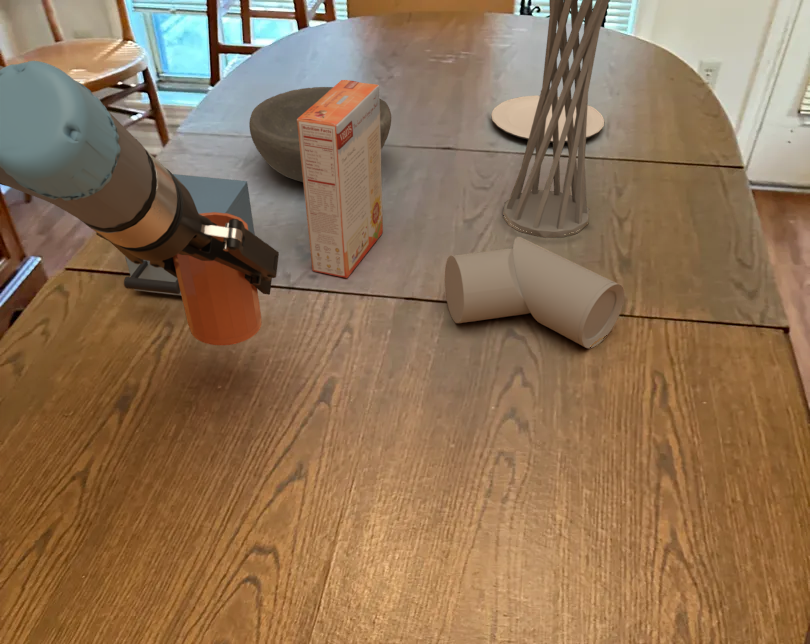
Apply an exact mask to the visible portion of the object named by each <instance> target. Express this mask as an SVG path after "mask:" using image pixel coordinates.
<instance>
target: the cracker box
mask: <svg viewBox="0 0 810 644" xmlns="http://www.w3.org/2000/svg"><path fill="white" fill-rule="evenodd" d="M332 87H333V88H332V89H331V90H330V91H328V92H327V93H326V94H325V95H324V96H323V97H322V98H321V99H319V100H318V101H317V102H316V103H315V104H314V105H313V106H311V107H310V108H309V109H308V110H307V111H306V112H304V113H303V114H302V115H301V116H300V117H299V118H298V119H297V127H298V136H299V146H300V155H301V165H302V175H303V182H302V183H303V193H304V203H305V211H306V221H307V222H306V223H307V231H308V240H309V251H310V260H311V269H312V272H316V273H321V274H325V275H331V276H335V277H340V278H344V279H348V278H349V277H350V276H351V274H352V273H353V272H354V270H355V269H356V268H357V266H358V265H359V264H360V262H361V261H362V260H363V259H364V257H365V256H366V255H367V254H368V253H369V251H370V250H371V249H372V248H373V246H374V245H375V244H376V242H377V241H378V240H379V239H380V237H381V236H382V234H383V232H384V222H383V182H382V181H383V179H382V149H381V136H380V99H381V98H380V85H379V84H375V83H367V82H360V81H355V80H350V79H349V80H348V79H340V81H338V82H337V83H336V84H335V85H334V86H332ZM379 98H380V99H379Z"/></svg>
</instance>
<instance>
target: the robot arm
mask: <svg viewBox="0 0 810 644" xmlns="http://www.w3.org/2000/svg"><path fill="white" fill-rule="evenodd" d="M173 174H174V173H172V172H171V171H170V170H169V169H168V168H167V167H165V166H164V165H163V164H162V163H161V162H160V161H159V160H158V159H157V158H156V157H154V156H153V154H151V153H150V151H148V150H147V149H146V148H145V147H144V145H143V144H142V143H141V142H140V141H139V140H138V139H137V138H136V137H135V136H134V135H133V134H132V133H130V131H129V130H128V129H127V128H126V127H125V126H124V125H123V124H122V123H121V122H120V121H119V120H118V119H117V118H116V117H115V116H114V115H113V114H112V113H111V112H110V111H109V110H108V108H107V107H106V106H105V105H104V104H103V102H102V101H101V100H100V98H99V97H98V96H95V95H94V94H93V92H92V90H90V89H89V87H87V86H85V85H84V84H82V83H81V82H80V81H78V80H75V79H74V78H72V77H71V75H69V74H68V73H66V72H65V71H63V70H62V69H60V68H58V67H56V66H55V65H52V64H50V63H47V62H44V61H40V60H28V61H25V62H21V63H14V64H13V63H12V64H9V65H7V66H2V65H0V185H1V186H4V187H8V188H11V189H13V190H17V191H19V192H22V193H24V194H27V195H30V196H32V197H35V198H38V199H40V200H43V201H45V202H47V203H50V204H51V205H54V206H56V207H58V208H59V209H61V210H63V211H65V212H66V213H68V214H70V215H71V216H73V217H75V218H76V219H78V220H80V221H81V223H83V224H85V226H87V227H88V228H90V229H91V230H92V231H94V232H96V233H95V234H96V236H98V237H99V238H101V239H104V240H105V241H108V242H109V243H111V244H112V245H113V246H114V247H115V248H116V249H117V250H118V251H119V252H121V254H123V256H124V257H125V256H126V257H127V258H128V259H129V260H130V261H131V262H134V263H135V264H143V260H146V261H150V265H151V266H153V267H156V268H159V267H162V268H164V270H166V271H167V272H169V273H170V274H172V275H173V276H175V277H176V278H177V274H176V269H175V265H174V261H173V256H175V255H177V254H180V255H190V256H192V257H194V258H197V259H199V260H201V261H213V260H214V261H217V262H219V263H221V264H224V265H226V266H228V267H231V268H233V269H235V270H238V271H240V272H242V273H244V274H245V279H246V280H247V281H249V282H250V284H252V285H253V286H255V287H256V288H257V291H259V292H261V293H262V294H263V295H271V289H272V281H273V279H275V278H276V277H277V272H278V265H279V256H280V252H279V251H278V250H276V248H273V247H272V246H271V245H269V244H268V243H266V242H265V241H264V240H262V239H261V238H259V236H257V235H256V234H255V235H254V234H253V233H251V232H250V231H248V230H247V229H246V228H245V226H244V224H243V222H241V221H239V220H238V219H230V220H229V223H225V227H221V226H217V224H215V223H213V222H211V220H210V219H208V218H206V217H204V216H202V215H200V214H199V213H198V211H197V209H196V206H195V203H194V201H193V198H192V196H191V194H190V193H189V191H188V190H187V188H186V187H185V186H184V185H183V184H182V183H181V182H180V181H179V180H178V179H177V178H176V177H175V176H174V175H173ZM200 249H201V250H200Z"/></svg>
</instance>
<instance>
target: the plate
mask: <svg viewBox="0 0 810 644" xmlns="http://www.w3.org/2000/svg"><path fill="white" fill-rule="evenodd" d="M559 97H560V96H558V99H559ZM539 98H540V95H524V96H519V97H514V98H510V99H507V100H504V101H502V102H500V103H499V104H498V105H497V106H495V107H494V108H493V109H492V111H491V114H490V115H491V120H492V123H493V124H494V125H495V126H496V127H497V128H498V129H499V130H501V131H503V132H504V133H506V134H508V135H511V136H514V137H516V138H519V139H523V140H527V141H528V139H529V136H530V132H531V128H532V124H533V120H534V117H535V113H536V109H537V105H538V101H539ZM551 118H552V105H551V107H550V110H549V112H548V115H547V118H546V125H545V133H546V131H547V128H548V125H549V123H550V120H551ZM575 119H576V107H575V111H574V114H573V124H574V125H575ZM565 121H566V117H565V105H564V107H563V110H562V112H561V115H560V118H559V120H558V128H559V140H560V137H561V134H562V131H563V127H564V124H565ZM604 126H605V119H604V117H603V115H602V113H601V112H599V111H598V110H597V109H596V108H595V107H593V106H591V105H589V104H588V106H587V127H586V139H589V138H591V137H594V136H596V135H598V134H599V133H600V132H601V131H602V129H603V128H604ZM544 136H545V134H544ZM550 143H552V144H553V136H552V138H551V141H550ZM550 143H549V144H550ZM565 143H568V140H567V136H566V140H565Z"/></svg>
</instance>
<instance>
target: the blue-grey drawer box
mask: <svg viewBox="0 0 810 644" xmlns="http://www.w3.org/2000/svg"><path fill="white" fill-rule="evenodd" d="M172 174H173V175H174V176H175V177H176V178H177V179H178V180H179V181H180V182H181V183H182V184H183V185H184V186H185V187H186V188H187V190H188V191H189V193H190V194H191V196H192V198H193V201H194V203H195V206H196V209H197V211H198V213H199V214H200V213H211V212H217V213H227V214H231V215H234V216H237V217H240V218H241V219H242V220H243V221H244V222H246V223H247V225H248V230H249V231H250V232H251V233H253V234H254V235H255V236H256V234H255V233H256V232H255V227H254V219H253V213H252V206H251V198H250V191H249V184H248V181H247V180H241V179H240V180H239V179H230V178H220V177H209V176H200V175H199V176H197V175H187V174H176V173H172Z"/></svg>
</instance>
